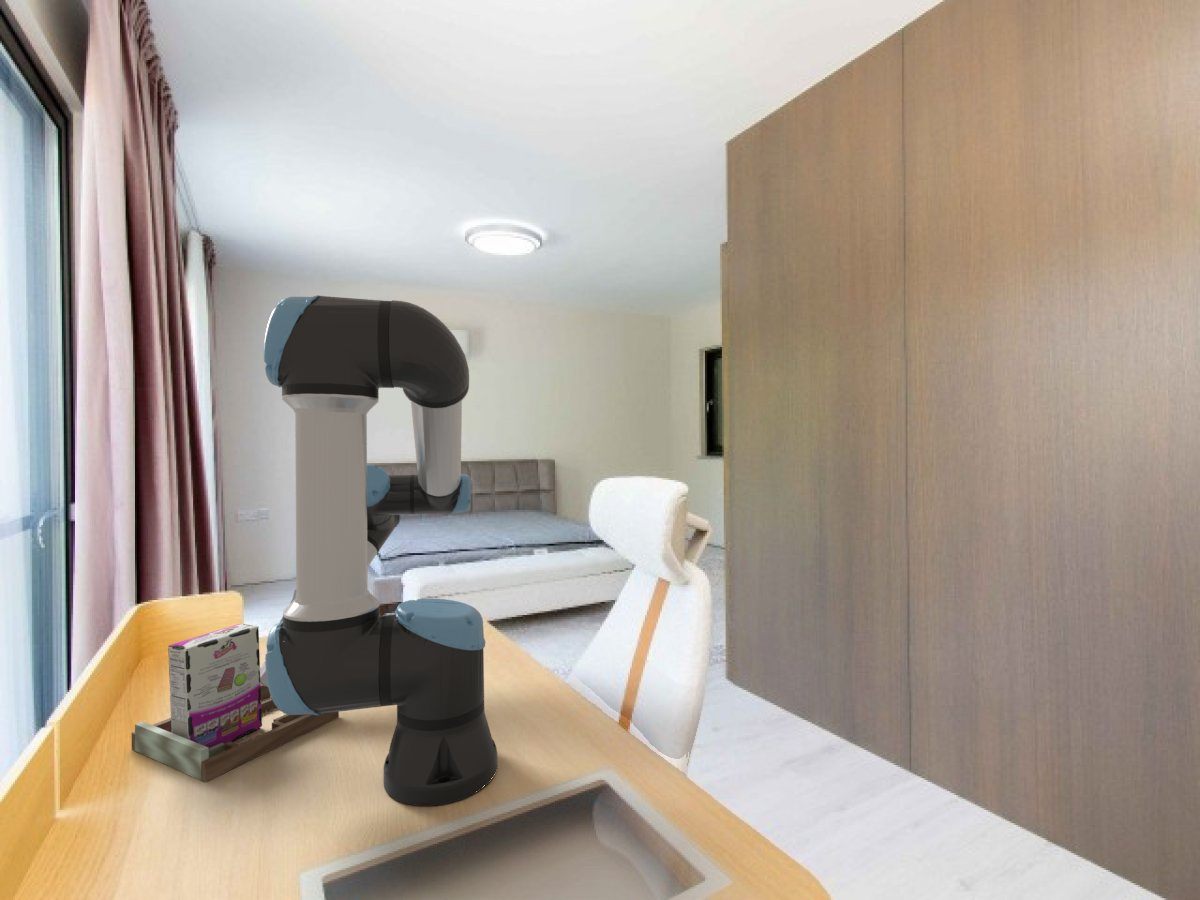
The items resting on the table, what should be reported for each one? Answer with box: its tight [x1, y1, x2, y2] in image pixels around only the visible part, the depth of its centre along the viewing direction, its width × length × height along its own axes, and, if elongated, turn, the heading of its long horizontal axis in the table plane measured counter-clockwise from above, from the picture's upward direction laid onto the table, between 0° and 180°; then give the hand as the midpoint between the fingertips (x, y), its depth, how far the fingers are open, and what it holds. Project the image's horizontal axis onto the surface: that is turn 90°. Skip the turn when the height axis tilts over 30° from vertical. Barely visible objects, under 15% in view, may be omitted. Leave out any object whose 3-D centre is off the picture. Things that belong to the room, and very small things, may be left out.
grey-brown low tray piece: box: [130, 683, 340, 783], centre depth 92 cm, size 19×21×4 cm
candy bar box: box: [167, 623, 263, 748], centre depth 89 cm, size 11×5×16 cm, turn 156°
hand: (261, 682), depth 95 cm, fingers closed
